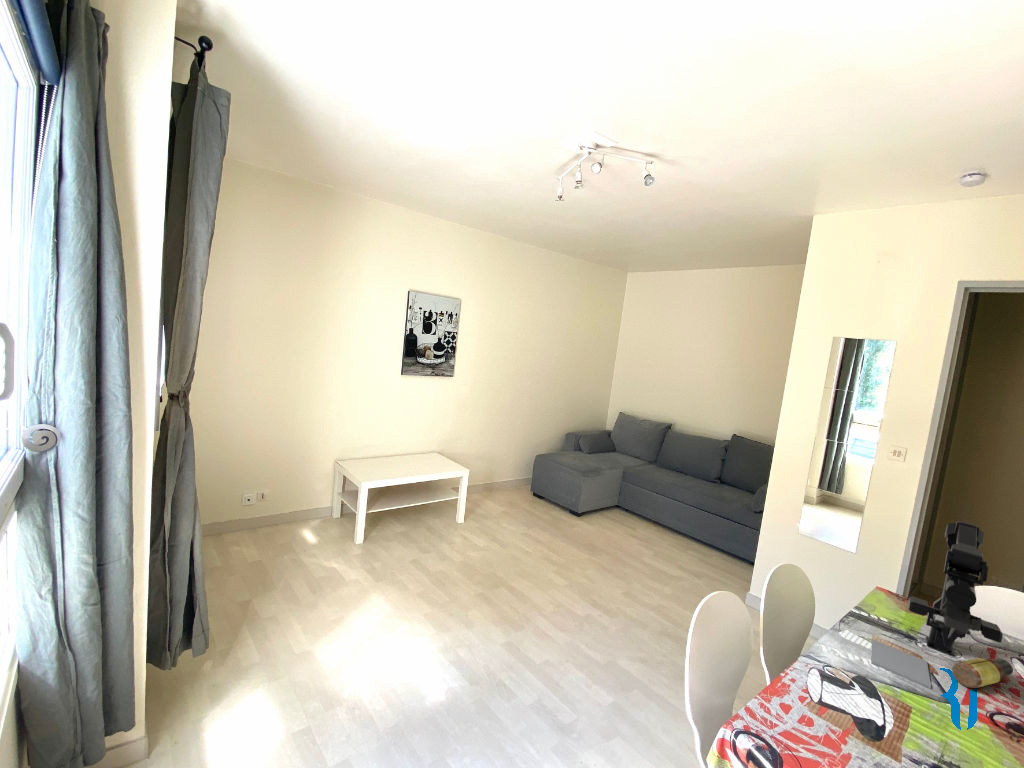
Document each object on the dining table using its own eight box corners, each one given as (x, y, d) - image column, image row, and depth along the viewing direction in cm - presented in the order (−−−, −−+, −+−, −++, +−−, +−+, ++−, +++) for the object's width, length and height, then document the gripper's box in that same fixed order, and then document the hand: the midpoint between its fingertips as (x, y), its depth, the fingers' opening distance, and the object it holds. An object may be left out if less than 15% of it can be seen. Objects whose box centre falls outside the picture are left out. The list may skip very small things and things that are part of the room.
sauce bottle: (975, 693, 124) (1020, 686, 130) (979, 671, 124) (1023, 665, 130) (947, 677, 131) (990, 670, 137) (950, 656, 130) (993, 650, 136)
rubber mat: (872, 640, 144) (872, 639, 144) (926, 662, 136) (926, 661, 136) (871, 663, 133) (871, 661, 133) (930, 688, 125) (931, 686, 125)
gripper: (915, 589, 127) (904, 642, 128) (1012, 621, 115) (999, 678, 116) (913, 576, 135) (902, 625, 137) (1003, 605, 124) (991, 658, 125)
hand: (946, 646), depth 128 cm, fingers closed
